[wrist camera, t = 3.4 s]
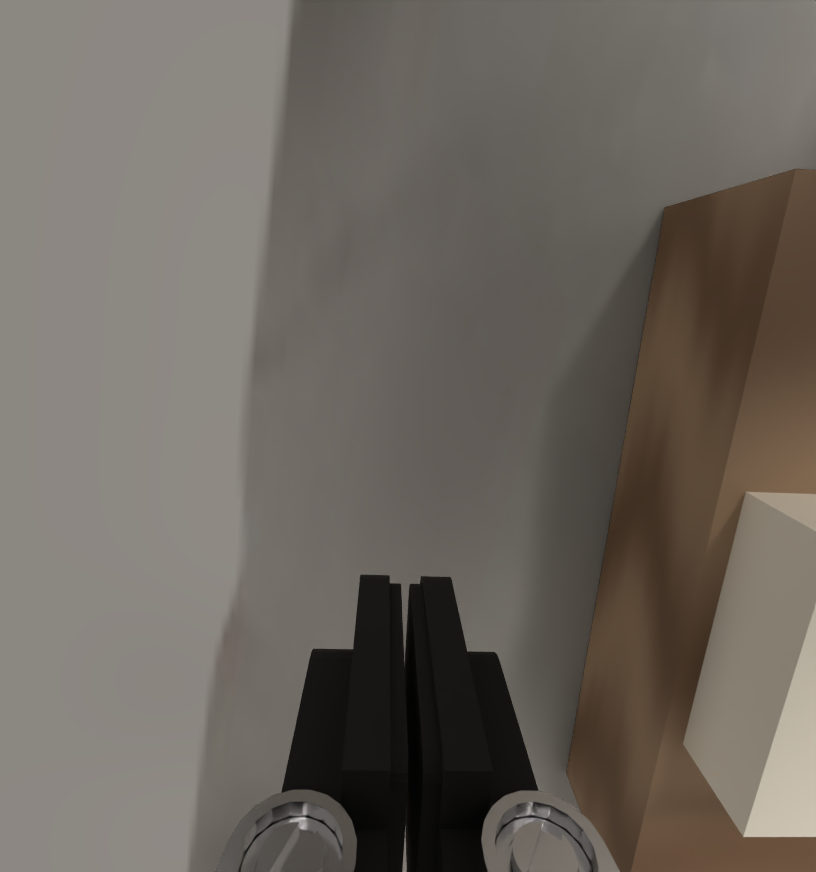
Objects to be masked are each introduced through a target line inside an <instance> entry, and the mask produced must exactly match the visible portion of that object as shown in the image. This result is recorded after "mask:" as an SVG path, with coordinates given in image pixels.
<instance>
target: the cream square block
mask: <svg viewBox="0 0 816 872" xmlns="http://www.w3.org/2000/svg"><path fill="white" fill-rule="evenodd" d="M683 745H684V746H685V748H686V749H687V751H688V752H689V754H690V756H691V757H692V759H693V760H694V762H695V763H696V765H697V766H698V768H699V769H700V771H701V773H702V774H703V776H704V777H705V779H706V780H707V782H708V783H709V785H710V786H711V788H712V790H713V791H714V793H715V794H716V796H717V797H718V799H719V800H720V802H721V803H722V805H723V806H724V808H725V810H726V811H727V813H728V814H729V816H730V817H731V819H732V820H733V822H734V823H735V825H736V827H737V828H738V830H739V831H740V833H741V834H742V836H743V837H816V494H798V493H768V492H746V493H745V497H744V501H743V505H742V509H741V513H740V517H739V521H738V525H737V529H736V533H735V537H734V541H733V545H732V549H731V553H730V557H729V561H728V565H727V569H726V573H725V577H724V581H723V585H722V589H721V593H720V597H719V601H718V605H717V609H716V613H715V617H714V621H713V625H712V629H711V633H710V637H709V641H708V645H707V649H706V653H705V657H704V661H703V665H702V669H701V673H700V677H699V681H698V685H697V689H696V693H695V697H694V701H693V705H692V709H691V713H690V717H689V721H688V725H687V729H686V733H685V737H684V741H683Z"/></svg>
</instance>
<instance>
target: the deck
mask: <svg viewBox="0 0 816 872" xmlns="http://www.w3.org/2000/svg"><path fill="white" fill-rule="evenodd" d="M746 492H768V493H798V494H816V170H805V169H794V170H790V171H787V172H784V173H780V174H777V175H773V176H770V177H767V178H763V179H760V180H756V181H753V182H750V183H746V184H743V185H739V186H736V187H733V188H729V189H726V190H722V191H719V192H716V193H712V194H709V195H705V196H702V197H699V198H695V199H692V200H688V201H685V202H682V203H678V204H675V205H671V206H668V207H665V209H664V215H663V220H662V226H661V232H660V238H659V243H658V249H657V255H656V261H655V266H654V272H653V278H652V284H651V289H650V295H649V301H648V307H647V312H646V318H645V324H644V330H643V335H642V341H641V347H640V353H639V358H638V364H637V370H636V375H635V381H634V387H633V393H632V398H631V404H630V410H629V416H628V421H627V427H626V433H625V439H624V444H623V450H622V456H621V462H620V467H619V473H618V479H617V485H616V490H615V496H614V502H613V508H612V513H611V519H610V525H609V531H608V536H607V542H606V548H605V554H604V559H603V565H602V571H601V577H600V582H599V588H598V594H597V600H596V605H595V611H594V617H593V623H592V628H591V634H590V640H589V646H588V651H587V657H586V663H585V669H584V674H583V680H582V686H581V692H580V697H579V703H578V709H577V715H576V720H575V726H574V732H573V738H572V743H571V749H570V755H569V761H568V766H567V772H566V773H567V776H568V778H569V781H570V784H571V787H572V789H573V792H574V795H575V797H576V800H577V803H578V806H579V808H580V811H581V813H582V814H583V815H584V816H585V817H586V818H587V819H588V820H589V821H590V822H591V823H592V825H593V826H594V827H595V829H596V830H597V832H598V833H599V835H600V836H601V838H602V839H603V841H604V842H605V844H606V846H607V848H608V850H609V852H610V854H611V856H612V857H613V859H614V861H615V863H616V865H617V867H618V869H619V871H620V872H816V837H743V836H742V834H741V833H740V831H739V830H738V828H737V827H736V825H735V823H734V822H733V820H732V819H731V817H730V816H729V814H728V813H727V811H726V810H725V808H724V806H723V805H722V803H721V802H720V800H719V799H718V797H717V796H716V794H715V793H714V791H713V790H712V788H711V786H710V785H709V783H708V782H707V780H706V779H705V777H704V776H703V774H702V773H701V771H700V769H699V768H698V766H697V765H696V763H695V762H694V760H693V759H692V757H691V756H690V754H689V752H688V751H687V749H686V748H685V746H684V745H683V741H684V737H685V733H686V729H687V725H688V721H689V717H690V713H691V709H692V705H693V701H694V697H695V693H696V689H697V685H698V681H699V677H700V673H701V669H702V665H703V661H704V657H705V653H706V649H707V645H708V641H709V637H710V633H711V629H712V625H713V621H714V617H715V613H716V609H717V605H718V601H719V597H720V593H721V589H722V585H723V581H724V577H725V573H726V569H727V565H728V561H729V557H730V553H731V549H732V545H733V541H734V537H735V533H736V529H737V525H738V521H739V517H740V513H741V509H742V505H743V501H744V497H745V493H746Z"/></svg>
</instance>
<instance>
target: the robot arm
mask: <svg viewBox="0 0 816 872" xmlns="http://www.w3.org/2000/svg"><path fill="white" fill-rule="evenodd" d="M405 826H406V857H407V872H620V871H619V869H618V867H617V865H616V863H615V861H614V859H613V857H612V856H611V854H610V852H609V850H608V848H607V846H606V844H605V842H604V841H603V839H602V838H601V836H600V835H599V833H598V832H597V830H596V829H595V827H594V826H593V825H592V823H591V822H590V821H589V820H588V819H587V818H586V817H585V816H584V815H583V814H582V813H581V812H580V811H579V810H577V809H576V808H575V807H574V806H572V805H571V804H569V803H567V802H565V801H564V800H562V799H560V798H559V797H557V796H554V795H551V794H547V793H544V792H540V791H538V788H537V784H536V781H535V778H534V774H533V771H532V768H531V764H530V761H529V758H528V754H527V751H526V748H525V744H524V741H523V738H522V734H521V731H520V728H519V724H518V721H517V718H516V714H515V711H514V708H513V704H512V701H511V698H510V694H509V691H508V688H507V684H506V681H505V678H504V674H503V671H502V668H501V664H500V661H499V659H498V656H497V654H496V653H495V652H467V649H466V644H465V639H464V635H463V630H462V626H461V621H460V617H459V612H458V607H457V603H456V598H455V594H454V589H453V584H452V580H451V577H430V576H421V580H420V584H410V586H409V600H408V617H407V634H406V650H405V667H404V645H403V622H402V599H401V584H391V583H390V577H389V575H360V585H359V595H358V605H357V616H356V626H355V636H354V647H353V650H350V649H313V650H312V652H311V656H310V660H309V665H308V670H307V675H306V679H305V684H304V689H303V693H302V698H301V703H300V708H299V712H298V717H297V722H296V727H295V731H294V736H293V741H292V745H291V750H290V755H289V760H288V764H287V769H286V774H285V779H284V783H283V788H282V793H279V794H276V795H273V796H271V797H270V798H268V799H266V800H265V801H263V802H261V803H260V804H258V805H256V806H255V807H254V808H253V809H252V810H251V811H250V812H249V813H248V814H247V815H246V816H245V817H244V818H243V819H242V820H241V821H240V823H239V824H238V826H237V828H236V829H235V831H234V833H233V834H232V836H231V838H230V839H229V841H228V843H227V846H226V848H225V850H224V853H223V855H222V857H221V860H220V862H219V864H218V866H217V869H216V871H215V872H402V866H403V851H404V836H405Z"/></svg>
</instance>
